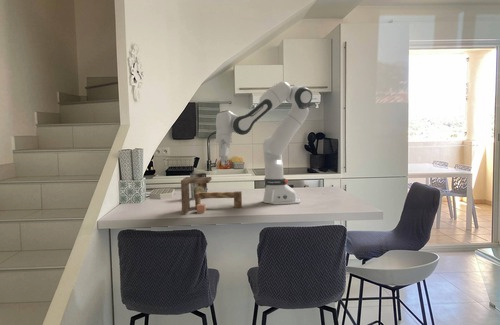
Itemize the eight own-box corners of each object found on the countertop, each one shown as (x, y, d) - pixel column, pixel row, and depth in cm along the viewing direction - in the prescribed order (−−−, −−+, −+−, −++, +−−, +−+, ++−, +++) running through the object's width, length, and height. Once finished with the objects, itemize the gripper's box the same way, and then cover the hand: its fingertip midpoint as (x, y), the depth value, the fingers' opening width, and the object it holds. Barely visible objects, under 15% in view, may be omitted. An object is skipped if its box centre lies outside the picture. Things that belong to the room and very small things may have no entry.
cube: (205, 211, 218) (205, 204, 218) (204, 212, 214) (204, 205, 214) (198, 211, 218) (198, 204, 218) (197, 212, 214) (196, 205, 214)
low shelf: (212, 209, 223) (211, 176, 222) (208, 214, 209) (207, 180, 208) (187, 209, 224) (186, 177, 222) (182, 214, 210) (180, 180, 208)
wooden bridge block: (242, 205, 232) (241, 190, 231) (241, 208, 223) (240, 193, 222) (198, 206, 233) (197, 191, 232) (195, 209, 224) (194, 194, 223)
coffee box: (203, 196, 263) (203, 172, 262) (207, 198, 258) (206, 173, 256) (190, 198, 259) (189, 173, 258) (193, 199, 253) (193, 174, 252)
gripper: (227, 140, 216) (227, 165, 217) (231, 139, 236) (231, 162, 237) (215, 140, 216) (216, 165, 217) (220, 139, 236) (220, 162, 238)
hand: (223, 164), depth 227 cm, fingers open, 8 cm apart
